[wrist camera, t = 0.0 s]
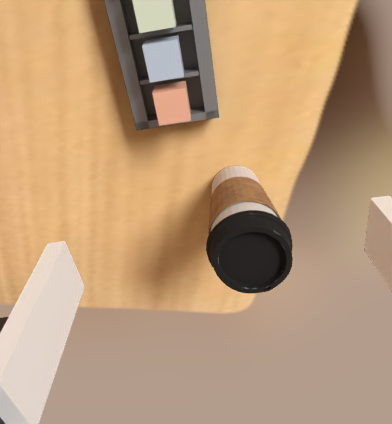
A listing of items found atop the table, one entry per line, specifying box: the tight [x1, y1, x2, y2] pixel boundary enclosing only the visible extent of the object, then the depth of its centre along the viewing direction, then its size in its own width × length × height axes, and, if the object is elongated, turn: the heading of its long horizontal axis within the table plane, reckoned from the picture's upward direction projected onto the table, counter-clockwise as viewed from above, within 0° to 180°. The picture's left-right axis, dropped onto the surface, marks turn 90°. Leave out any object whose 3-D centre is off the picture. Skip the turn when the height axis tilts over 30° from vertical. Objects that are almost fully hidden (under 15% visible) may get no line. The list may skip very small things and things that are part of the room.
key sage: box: [132, 0, 176, 33], centre depth 32 cm, size 3×3×3 cm
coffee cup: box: [206, 166, 292, 293], centre depth 40 cm, size 8×8×15 cm
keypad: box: [104, 0, 219, 130], centre depth 35 cm, size 18×9×2 cm, turn 9°
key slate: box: [142, 35, 184, 83], centre depth 34 cm, size 3×3×3 cm
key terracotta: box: [152, 81, 191, 126], centre depth 36 cm, size 3×3×3 cm
